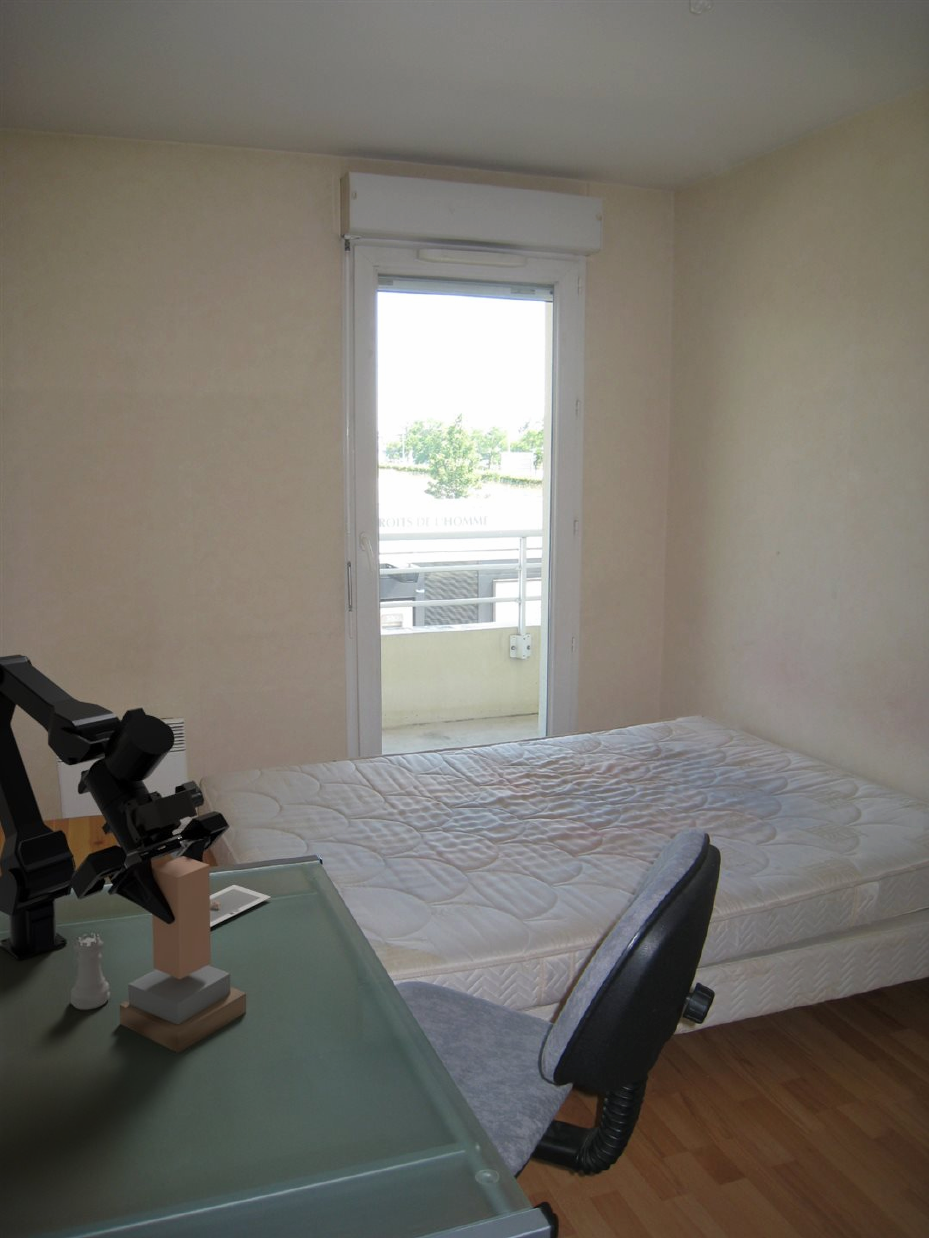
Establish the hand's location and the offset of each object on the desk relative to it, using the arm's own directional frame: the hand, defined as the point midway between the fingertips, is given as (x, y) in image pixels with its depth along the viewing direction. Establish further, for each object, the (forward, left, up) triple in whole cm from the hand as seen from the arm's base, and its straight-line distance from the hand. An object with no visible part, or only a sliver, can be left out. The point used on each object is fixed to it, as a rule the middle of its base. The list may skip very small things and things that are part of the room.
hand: (189, 914), depth 106 cm
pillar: (-1, 0, -7) cm, 7 cm away
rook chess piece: (-12, -6, -13) cm, 19 cm away
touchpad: (-23, +18, -14) cm, 32 cm away
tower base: (-1, 0, -14) cm, 14 cm away
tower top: (-1, -1, -11) cm, 11 cm away
